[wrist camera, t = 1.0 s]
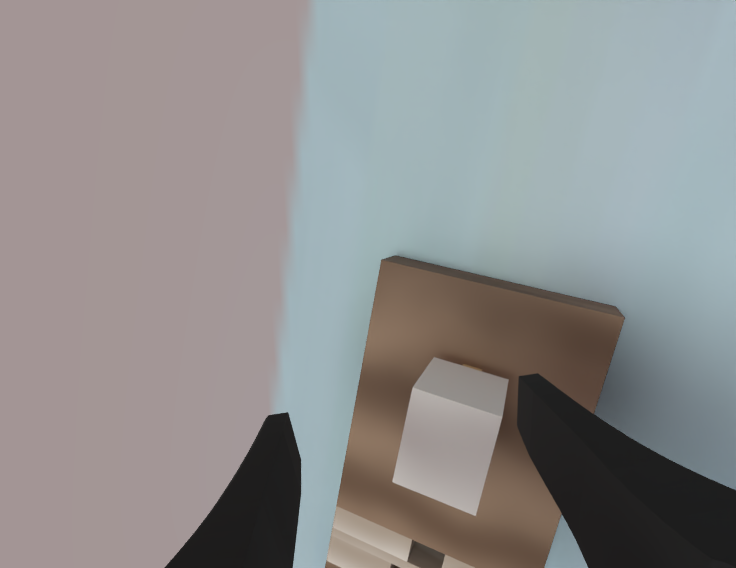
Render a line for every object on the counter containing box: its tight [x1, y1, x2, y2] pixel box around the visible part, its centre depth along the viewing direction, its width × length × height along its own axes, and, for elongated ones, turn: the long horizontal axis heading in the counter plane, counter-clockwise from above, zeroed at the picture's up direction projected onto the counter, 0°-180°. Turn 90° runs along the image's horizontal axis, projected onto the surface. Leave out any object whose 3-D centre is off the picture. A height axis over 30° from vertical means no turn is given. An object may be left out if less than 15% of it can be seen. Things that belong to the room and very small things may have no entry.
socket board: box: [325, 256, 625, 568], centre depth 26 cm, size 24×12×2 cm, turn 170°
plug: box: [392, 357, 509, 516], centre depth 20 cm, size 4×4×6 cm
